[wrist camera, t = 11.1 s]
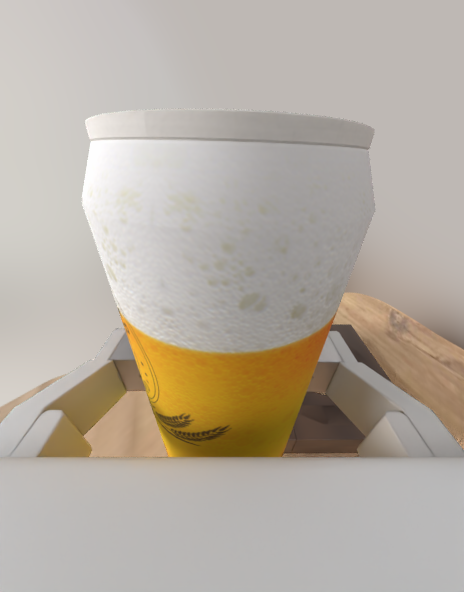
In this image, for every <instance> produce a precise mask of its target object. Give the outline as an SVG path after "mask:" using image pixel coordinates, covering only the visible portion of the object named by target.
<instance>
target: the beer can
mask: <svg viewBox="0 0 464 592" xmlns="http://www.w3.org/2000/svg"><path fill="white" fill-rule="evenodd" d="M85 123H86V128H87V131H88V135H89V139H90V140H91V141H92V142H91V143H90V150H89V156H88V162H87V169H86V175H85V182H84V189H83V194H82V205H83V208H84V211H85V214H86V217H87V219H88V222H89V225H90V228H91V231H92V234H93V237H94V240H95V243H96V246H97V248H98V252H99V255H100V257H101V260H102V263H103V266H104V269H105V272H106V275H107V278H108V280H109V284H110V287H111V289H112V293H113V295H114V298H115V301H116V304H117V307H118V310H119V313H120V316H121V319H122V322H123V324H124V327H125V331H126V333H127V336H128V339H129V342H130V345H131V348H132V351H133V354H134V357H135V360H136V363H137V366H138V369H139V372H140V374H141V377H142V380H143V383H144V386H145V389H146V392H147V395H148V398H149V401H150V404H151V407H152V410H153V412H154V415H155V418H156V421H157V424H158V427H159V430H160V433H161V436H162V439H163V442H164V445H165V448H166V450H167V453H168V456H169V457H282V455H283V453H284V450H285V447H286V445H287V442H288V439H289V437H290V434H291V431H292V429H293V426H294V424H295V421H296V418H297V416H298V413H299V410H300V408H301V405H302V402H303V400H304V397H305V394H306V392H307V389H308V386H309V384H310V381H311V379H312V376H313V373H314V371H315V368H316V365H317V363H318V360H319V357H320V355H321V352H322V349H323V347H324V344H325V341H326V339H327V336H328V334H329V331H330V328H331V326H332V323H333V320H334V318H335V315H336V312H337V310H338V307H339V304H340V302H341V299H342V297H343V294H344V291H345V288H346V286H347V283H348V280H349V278H350V275H351V273H352V270H353V267H354V265H355V262H356V259H357V257H358V254H359V252H360V249H361V246H362V243H363V241H364V238H365V235H366V233H367V230H368V228H369V225H370V222H371V220H372V217H373V214H374V212H375V203H374V194H373V186H372V177H371V168H370V160H369V151H368V149H369V148H370V145H371V142H372V139H373V135H374V129H373V128H371V127H370V126H367V125H365V124H363V123H359V122H355V121H350V120H345V119H340V118H332V117H326V116H318V115H308V114H298V113H287V112H273V111H256V110H234V109H233V110H232V109H152V110H151V109H149V110H132V111H121V112H111V113H105V114H99V115H96V116H93V117H90V118H88V119H87V120H86V122H85Z"/></svg>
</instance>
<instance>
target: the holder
mask: <svg viewBox="0 0 464 592" xmlns="http://www.w3.org/2000/svg"><path fill="white" fill-rule="evenodd" d="M330 331H337V332H339V333H340V335H341V336H342V338H343V339H344V341H345V343H346V344H347V346H348V347H349V349H350V351H351V352H352V354H353V355H354V357H355V358H356V360H357V362H360V363H363V364H365V365H366V366H368V367H369V368H371V369H372V370H374V371H375V372H376V373H378V374H379V375H381V376H382V377H384V378H385V379H387V380H388V381H390V379H389V378H388V376H387V375H386V374H385V372H384V371H383V369H382V368H381V367H380V365H379V364H378V362H377V361H376V360H375V358H374V357H373V355H372V354H371V353H370V351H369V350H368V348H367V347H366V346H365V344H364V343H363V341H362V340H361V338H360V337H359V336H358V334H357V333H356V331H355V330H354V329H353V327H352V326H351V325H332V326H331V328H330ZM390 382H391V381H390ZM391 383H392V382H391ZM365 437H366V436H365V435H364V434H363V433H362V432H361V431H360V430H359V429H358V428H357V427H356V426H355V425H354V424H353V423H352V421H351V420H350V419H349V418H348V417H347V416H346V415H345V414H344V413H343V412H342V411H341V410H340V409H339V408H338V406H337V405H336V404H335V403H334V402H333V401H332V400H331V399H330V398H329V397H328V396H327V395H321V394H318V393H315V392H306V394H305V397H304V400H303V402H302V405H301V408H300V410H299V413H298V416H297V418H296V421H295V424H294V426H293V429H292V431H291V434H290V437H289V439H288V442H287V445H286V447H285V450H284V453H358V451H357V448H358V446H359V445H360V443H361V442H362V441H363V440H364V439H365Z"/></svg>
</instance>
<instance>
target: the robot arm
mask: <svg viewBox="0 0 464 592" xmlns="http://www.w3.org/2000/svg"><path fill="white" fill-rule="evenodd" d="M126 391H146V389H145V386H144V383H143V380H142V377H141V374H140V372H139V369H138V366H137V363H136V360H135V357H134V354H133V351H132V348H131V345H130V342H129V339H128V336H127V333H126V331H125V329H123V328H117V329H115V330H114V331H113V332H112V333H111V335H110V337H109V338H108V339H107V341H106V342H105V344H104V346H103V347H102V348H101V350H100V351H99V353H98V354H97V356H96V357H95V359H94V360H89V361H87V362H86V363H84V364H83V365H81V366H80V367H78V368H76V369H75V370H73V371H72V372H70V373H68V374H67V375H65V376H64V377H62V378H60V379H59V380H57V381H56V382H54V383H53V384H51V385H49V386H48V387H46V388H45V389H43V390H42V391H40V392H38V393H37V394H35V395H34V396H32V397H30V398H29V399H27V400H26V401H24V402H23V403H21V404H19V405H18V406H16V407H15V408H13V409H12V411H11V412H10V413H9V414H8V415H7V416H6V418H5V419H4V420H3V421H2V422H1V423H0V592H464V450H463V449H462V447H461V446H460V445H459V444H458V442H457V441H456V440H455V438H454V437H453V436H452V435H451V433H450V432H449V431H448V430H447V428H446V427H445V426H444V425H443V423H442V422H441V421H440V420H439V418H438V417H437V416H436V415H435V413H434V412H433V411H432V410H431V409H429V408H428V407H426V406H425V405H423V404H422V403H420V402H419V401H418V400H416V399H415V398H413V397H412V396H410V395H409V394H407V393H406V392H404V391H403V390H401V389H400V388H398V387H397V386H396V385H394V384H393V383H391V382H390V381H388V380H387V379H385V378H384V377H382V376H381V375H379V374H378V373H376V372H375V371H374V370H372V369H371V368H369V367H368V366H366V365H365V364H363V363H360V362H357V360H356V358H355V357H354V355H353V354H352V352H351V351H350V349H349V347H348V346H347V344H346V343H345V341H344V339H343V338H342V336H341V335H340V333H339V332H337V331H329V334H328V336H327V339H326V341H325V344H324V347H323V349H322V352H321V355H320V357H319V360H318V363H317V365H316V368H315V371H314V373H313V376H312V379H311V381H310V384H309V386H308V389H307V392H326V393H325V394H326V395H327V396H328V397H329V398H330V399H331V400H332V401H333V402H334V403H335V404H336V405H337V406H338V408H339V409H340V410H341V411H342V412H343V413H344V414H345V415H346V416H347V417H348V418H349V419H350V420H351V421H352V423H353V424H354V425H355V426H356V427H357V428H358V429H359V430H360V431H361V432H362V433H363V434H364V435H365V436H366V437H365V439H364V440H363V441H362V442H361V443H360V445H359V446H358V448H357V451H358V454H359V456H360V457H89V455H90V453H91V451H92V448H91V445H90V444H89V443H88V442H87V440H86V439H85V438H84V437H83V436H84V435H85V434H86V433H87V432H88V431H89V430H90V429H91V428H92V427H93V426H94V425H95V424H96V423H97V422H98V421H99V420H100V419H101V418H102V417H103V416H104V415H105V414H106V413H107V412H108V411H109V410H110V409H111V408H112V407H113V406H114V405H115V404H116V403H117V402H118V401H119V400H120V398H121V397H122V396H123V395H124V394H125V393H126Z"/></svg>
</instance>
